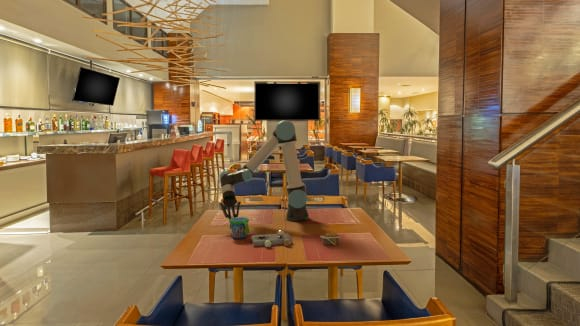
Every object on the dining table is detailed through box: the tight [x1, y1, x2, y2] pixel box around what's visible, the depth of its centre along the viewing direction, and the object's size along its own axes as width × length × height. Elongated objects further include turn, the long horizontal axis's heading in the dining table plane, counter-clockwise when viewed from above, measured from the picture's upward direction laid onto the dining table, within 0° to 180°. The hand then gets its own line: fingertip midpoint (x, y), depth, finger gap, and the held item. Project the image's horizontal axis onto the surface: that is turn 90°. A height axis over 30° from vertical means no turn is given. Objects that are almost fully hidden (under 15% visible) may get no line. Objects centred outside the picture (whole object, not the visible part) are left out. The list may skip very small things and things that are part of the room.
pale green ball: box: [264, 240, 272, 248], centre depth 219 cm, size 4×4×4 cm
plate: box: [251, 232, 293, 248], centre depth 229 cm, size 20×13×2 cm, turn 100°
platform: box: [320, 232, 341, 246], centre depth 221 cm, size 12×18×7 cm, turn 96°
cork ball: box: [284, 239, 292, 247], centre depth 220 cm, size 4×4×4 cm
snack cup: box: [228, 216, 250, 239], centre depth 239 cm, size 16×10×10 cm
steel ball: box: [276, 229, 285, 237], centre depth 229 cm, size 4×4×4 cm
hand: (233, 227), depth 247 cm, fingers closed
